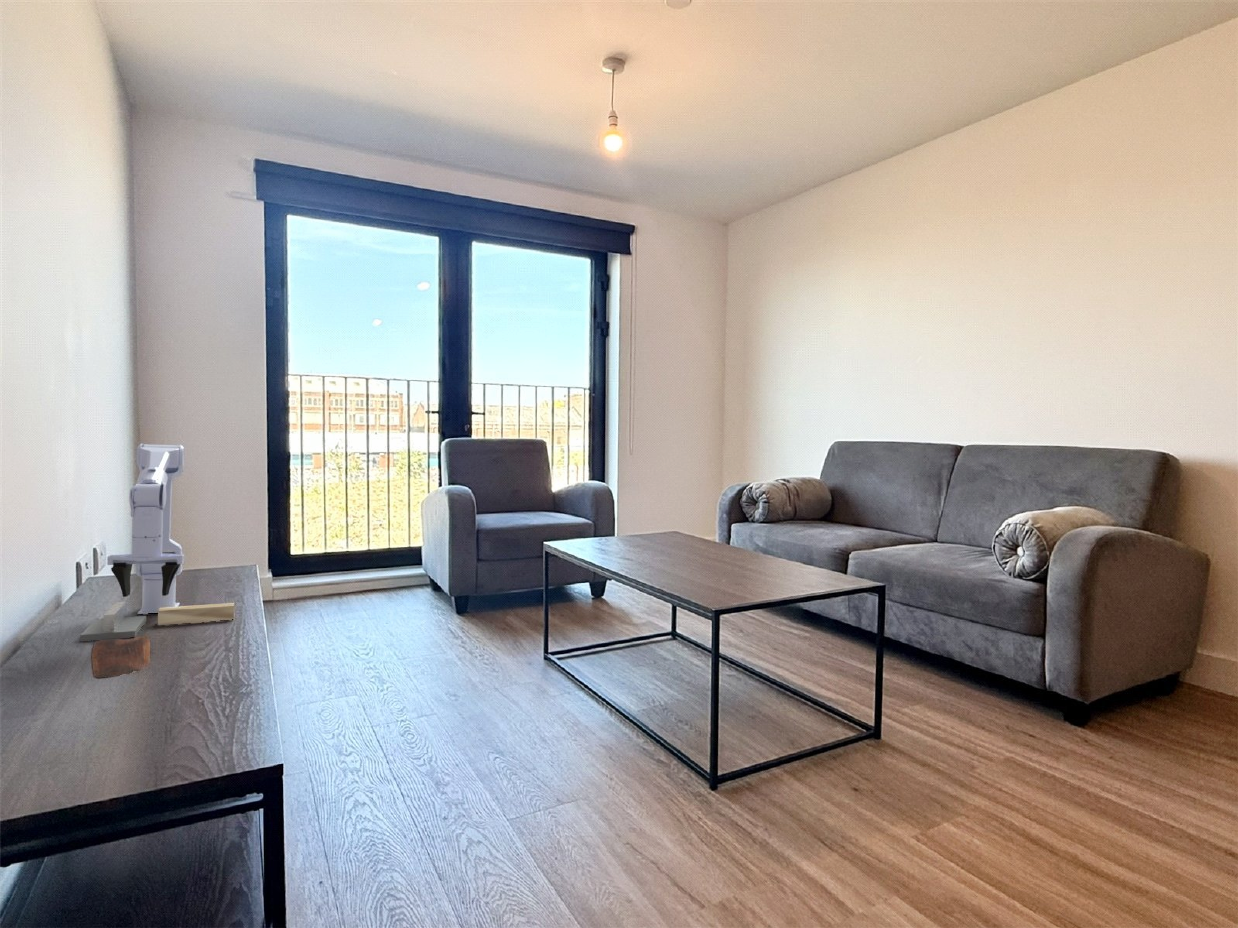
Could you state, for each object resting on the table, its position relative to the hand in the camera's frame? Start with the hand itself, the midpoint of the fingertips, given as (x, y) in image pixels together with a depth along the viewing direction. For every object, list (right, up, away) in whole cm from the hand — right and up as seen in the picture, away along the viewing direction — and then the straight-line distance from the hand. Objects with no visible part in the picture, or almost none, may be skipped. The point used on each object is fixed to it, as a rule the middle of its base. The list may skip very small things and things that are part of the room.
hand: (146, 595), depth 151 cm
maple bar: (+2, -10, +15) cm, 18 cm away
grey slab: (-11, -9, +4) cm, 15 cm away
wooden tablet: (+3, -11, -12) cm, 17 cm away
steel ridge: (-10, -8, +4) cm, 14 cm away
